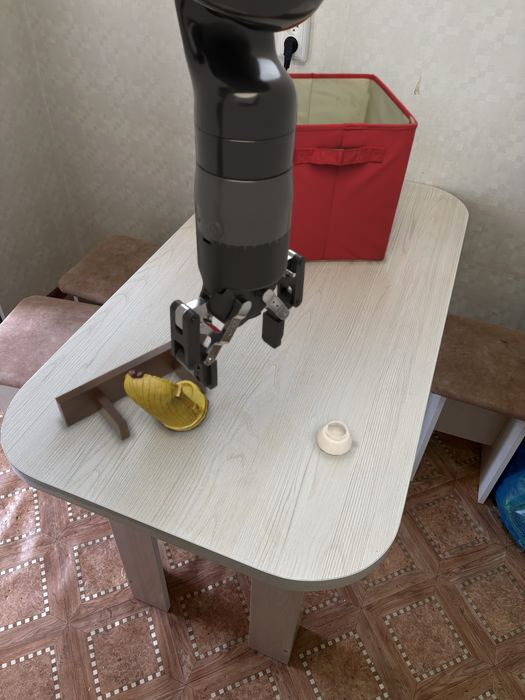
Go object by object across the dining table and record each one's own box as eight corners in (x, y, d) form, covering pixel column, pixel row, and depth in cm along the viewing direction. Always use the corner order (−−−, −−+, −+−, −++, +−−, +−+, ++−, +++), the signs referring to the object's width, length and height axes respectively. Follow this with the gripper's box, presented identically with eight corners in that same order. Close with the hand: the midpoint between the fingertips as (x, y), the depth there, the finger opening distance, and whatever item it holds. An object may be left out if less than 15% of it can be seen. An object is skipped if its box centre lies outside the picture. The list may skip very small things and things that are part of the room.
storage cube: (391, 267, 105) (428, 124, 85) (260, 273, 102) (267, 126, 82) (350, 195, 128) (372, 69, 108) (243, 198, 125) (245, 68, 105)
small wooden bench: (90, 459, 69) (83, 437, 65) (63, 420, 73) (54, 398, 70) (230, 378, 80) (230, 356, 77) (198, 349, 85) (197, 327, 81)
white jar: (321, 424, 75) (312, 450, 71) (323, 411, 73) (315, 437, 69) (354, 433, 74) (347, 461, 70) (358, 421, 72) (350, 448, 68)
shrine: (167, 465, 68) (155, 392, 58) (124, 436, 72) (106, 361, 61) (220, 412, 75) (218, 338, 65) (179, 388, 78) (171, 313, 68)
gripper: (274, 175, 45) (265, 315, 56) (138, 227, 38) (159, 376, 49) (338, 206, 41) (315, 350, 52) (202, 271, 34) (209, 422, 45)
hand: (240, 362), depth 51 cm, fingers open, 8 cm apart
